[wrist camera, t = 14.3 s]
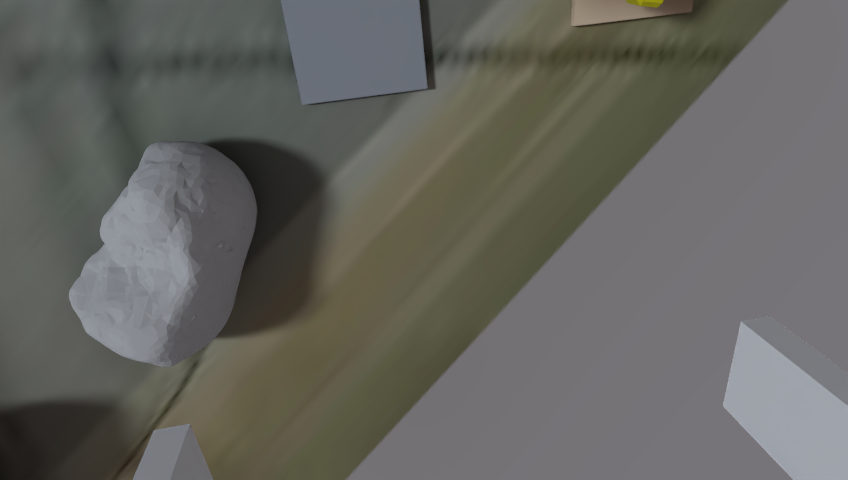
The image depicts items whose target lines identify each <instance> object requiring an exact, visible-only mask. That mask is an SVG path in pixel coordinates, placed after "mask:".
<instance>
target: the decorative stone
mask: <svg viewBox="0 0 848 480" xmlns="http://www.w3.org/2000/svg"><path fill="white" fill-rule="evenodd" d="M256 218H257V204H256V199H255V195H254V192H253V189H252V187H251V184H250V183H249V181H248V180H247V178H246V176H245V174H244V173H243V172H242V170H241V169H240V168H239V167H238V166H237V165H236V164H235V163H234V162H233V161H232V160H230V159H229V158H227V157H226V156H225V155H223V154H222V153H221V152H219V151H218V150H216V149H214V148H212V147H209V146H207V145H204V144H201V143H197V142H185V141H178V142H157V143H153V144H152V145H150V146H148V147H147V149H146V150H145V152H144V155H143V157H142V159H141V162H140V164H139V167H138V169H137V170H136V171H135V172H134V174H133V175H132V176H131V178H130V180H129V182H128V186H127V187H126V188H125V189H124V190H123V192H122V193H121V195H120V196H119V198H118V199H117V201H116V202H115V203H114V204H113V206H112V207H111V208H110V209H109V210H108V212H107V213H106V214H105V215H104V217H103V219H102V223H101V228H100V236H101V238H102V241H103V242H104V243H105V244H104V245H103V246H102V248H101V249H100V250H99V251H98V252H97V253H95V254H93V255H92V256H91V257H90V258H89V259H88V261H87V262H86V264H85V265H84V268H83V271H82V273H81V276H80V277H79V278H78V279H77V280H76V281H75V282H74V284H73V286H72V287H71V289H70V291H69V300H70V302H71V305H72V307H73V309H74V311H75V312H76V313H77V315H78V316H79V318H80V319H81V321H82V325H83V327H84V329H85V331H86V332H87V333H88V334H89V335H90V336H92V337H93V338H95V339H96V340H98V341H99V342H101V343H102V344H103V345H105V346H106V347H108V348H110V349H111V350H112V351H114V352H116V353H117V354H119V355H121V356H123V357H126V358H129V359H133V360H136V361H140V362H146V363H151V364H155V365H158V366H163V367H169V366H173V365H175V364H177V363H179V362H180V361H182V360H183V359H186V358H187V357H189V356H191V355H192V354H194V353H196V352H197V351H199V350H200V349H202V348H203V347H205V346H206V345H208V344H209V343H210V342H211V341H212V340H213V339H214V338H215V337H216V336H217V335H218V334H219V332H220V331H221V330H222V329H223V327H224V326H225V324H226V323H227V320H228V318H229V316H230V314H231V312H232V309H233V306H234V302H235V298H236V293H237V289H238V286H239V282H240V277H241V273H242V269H243V265H244V262H245V259H246V256H247V252H248V249H249V247H250V244H251V241H252V238H253V234H254V231H255V226H256Z"/></svg>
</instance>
